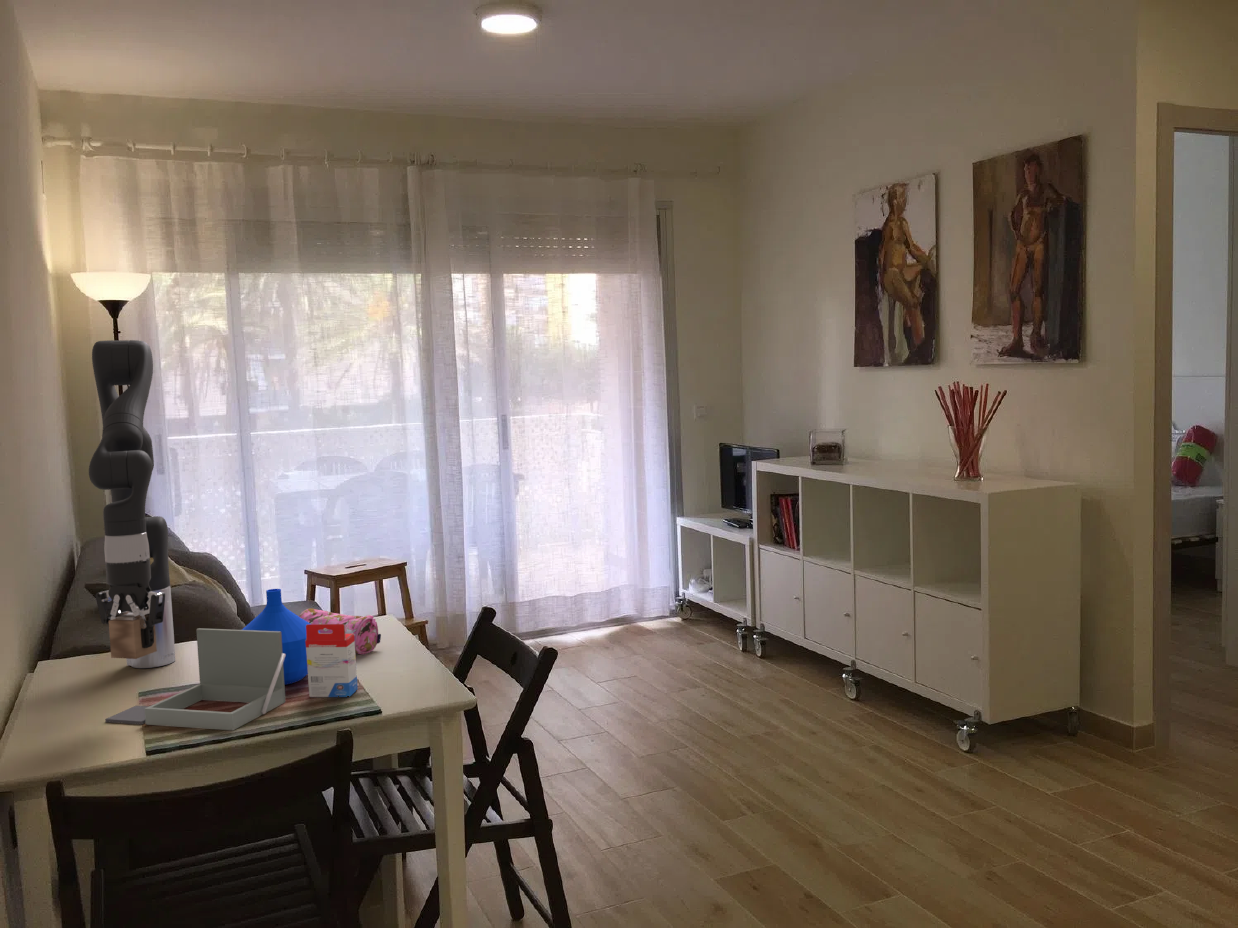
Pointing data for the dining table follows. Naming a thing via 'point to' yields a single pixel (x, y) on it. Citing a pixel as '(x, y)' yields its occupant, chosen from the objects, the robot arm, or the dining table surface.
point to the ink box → (330, 661)
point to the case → (228, 680)
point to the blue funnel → (284, 634)
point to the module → (128, 638)
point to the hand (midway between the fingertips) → (133, 646)
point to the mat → (129, 716)
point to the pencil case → (348, 627)
